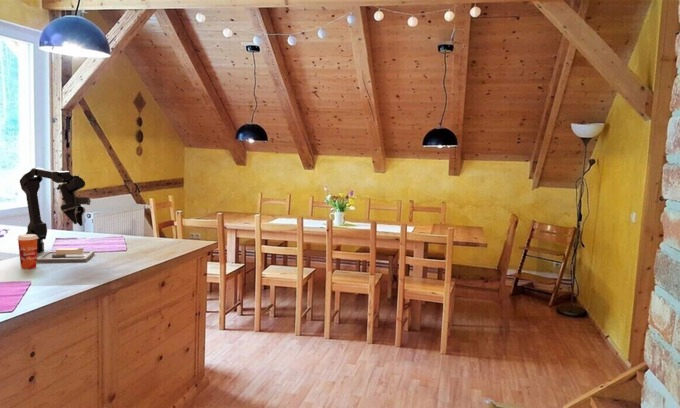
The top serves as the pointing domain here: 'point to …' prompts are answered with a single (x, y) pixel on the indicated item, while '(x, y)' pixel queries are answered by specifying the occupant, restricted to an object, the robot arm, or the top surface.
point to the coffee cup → (28, 250)
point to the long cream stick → (68, 252)
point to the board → (65, 257)
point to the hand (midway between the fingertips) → (78, 224)
